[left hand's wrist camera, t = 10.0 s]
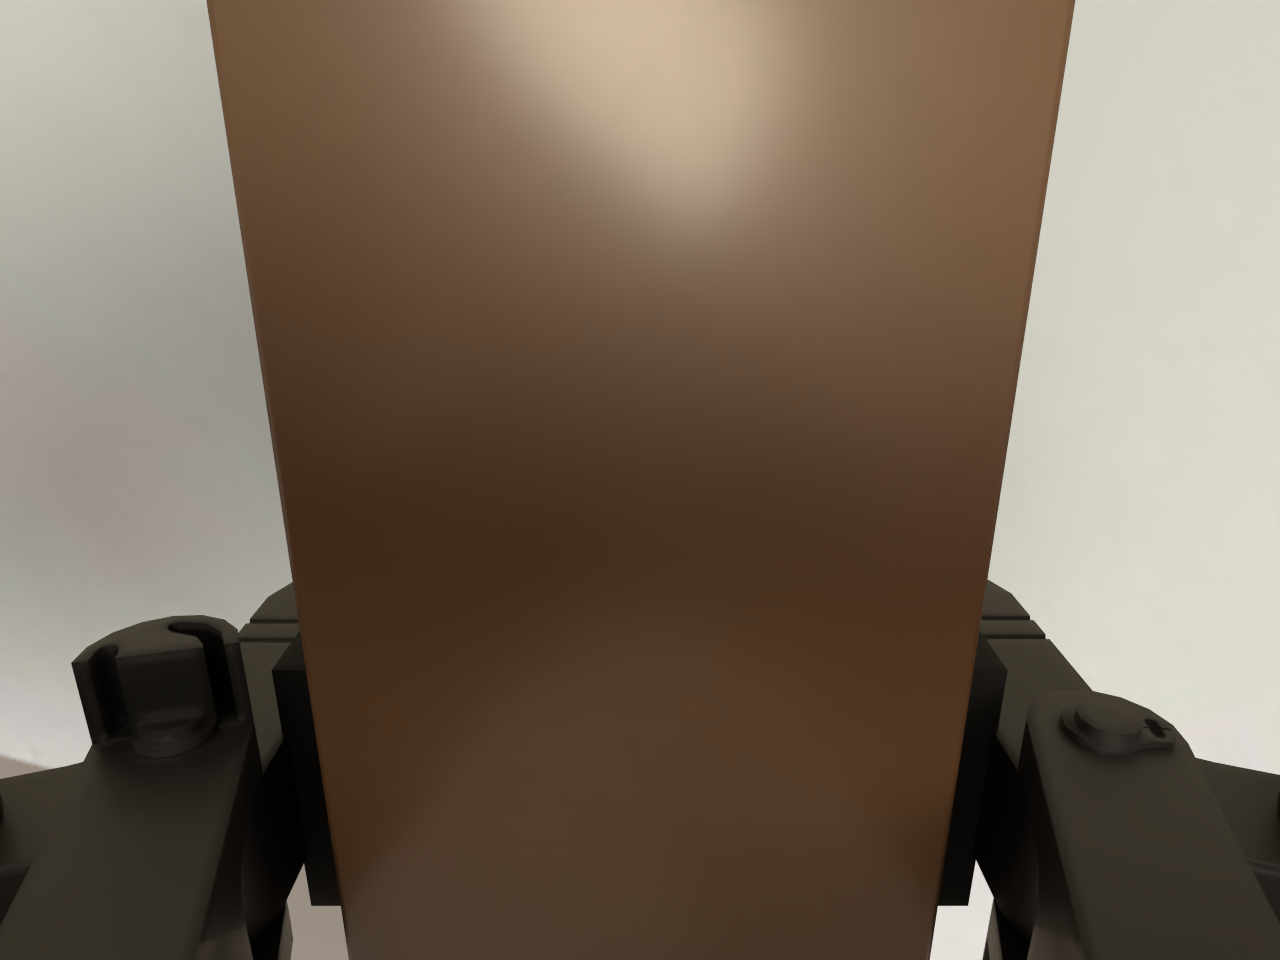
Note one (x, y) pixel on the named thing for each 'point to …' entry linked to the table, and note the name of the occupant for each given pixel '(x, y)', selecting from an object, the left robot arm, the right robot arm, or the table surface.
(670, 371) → the post
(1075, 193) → the table surface
